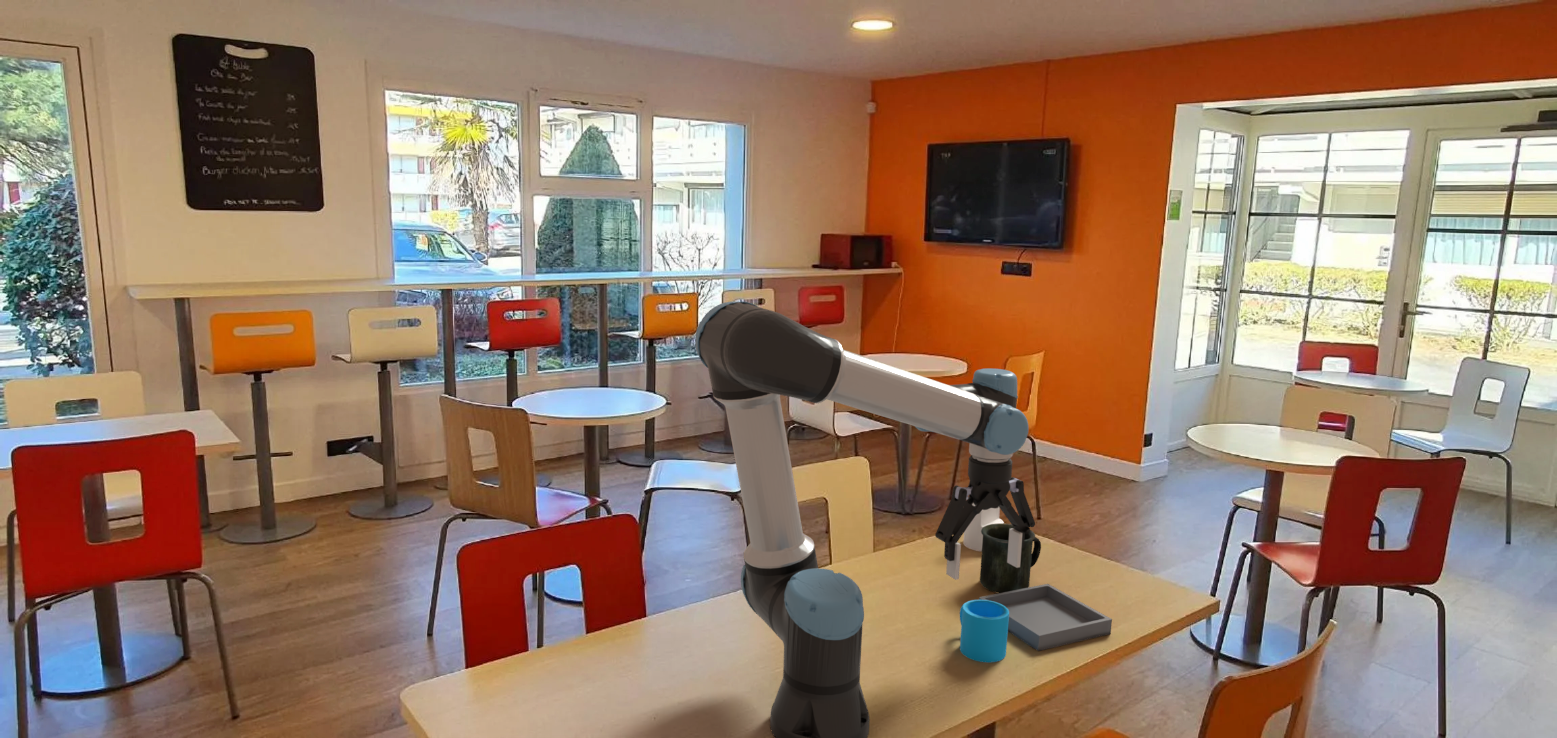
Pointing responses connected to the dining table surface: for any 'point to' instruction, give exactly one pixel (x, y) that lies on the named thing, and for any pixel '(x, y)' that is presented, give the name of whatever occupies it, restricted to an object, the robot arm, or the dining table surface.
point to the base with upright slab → (980, 527)
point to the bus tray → (1050, 617)
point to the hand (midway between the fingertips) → (983, 570)
